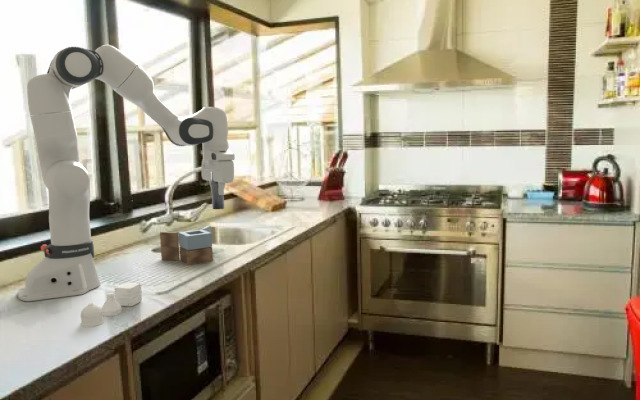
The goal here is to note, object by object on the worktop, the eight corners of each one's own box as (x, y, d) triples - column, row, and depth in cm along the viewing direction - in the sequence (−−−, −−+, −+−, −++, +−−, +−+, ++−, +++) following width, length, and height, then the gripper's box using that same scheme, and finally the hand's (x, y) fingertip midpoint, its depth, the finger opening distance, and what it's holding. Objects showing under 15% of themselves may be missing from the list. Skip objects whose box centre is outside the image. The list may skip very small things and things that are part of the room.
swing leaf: (188, 263, 184) (187, 236, 182) (175, 256, 195) (173, 230, 194) (226, 257, 192) (225, 231, 190) (211, 250, 203) (209, 225, 202)
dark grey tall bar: (215, 209, 180) (213, 172, 178) (210, 208, 183) (209, 171, 181) (226, 208, 182) (224, 171, 180) (221, 207, 185) (219, 170, 184)
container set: (126, 300, 147) (125, 282, 146) (142, 302, 146) (141, 283, 145) (76, 327, 128) (74, 305, 127) (94, 328, 126) (92, 307, 126)
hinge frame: (174, 267, 181) (172, 238, 179) (160, 259, 192) (159, 232, 191) (212, 260, 189) (211, 233, 187) (198, 253, 200) (196, 227, 199)
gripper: (196, 153, 187) (197, 192, 189) (219, 155, 170) (220, 197, 172) (212, 153, 190) (214, 190, 192) (236, 154, 173) (238, 196, 175)
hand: (217, 194), depth 182 cm, fingers closed on dark grey tall bar, 4 cm apart
